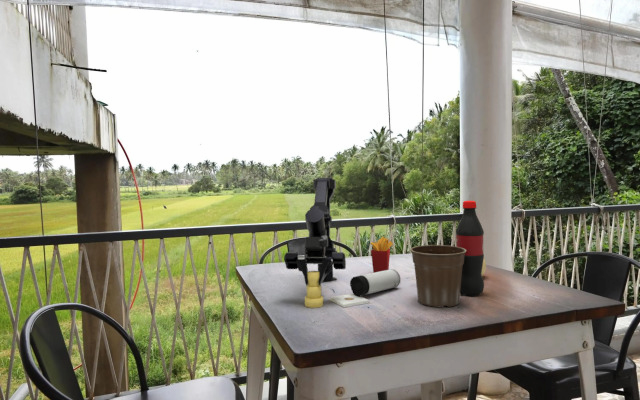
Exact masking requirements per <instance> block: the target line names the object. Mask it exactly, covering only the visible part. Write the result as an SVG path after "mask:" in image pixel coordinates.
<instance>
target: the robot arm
mask: <svg viewBox="0 0 640 400" xmlns="http://www.w3.org/2000/svg"><path fill="white" fill-rule="evenodd" d="M312 185H313V186H312V187H313V188H312V189H313V190H315V194H314V195H315V196H314V201H313V205H312V206H311V207H310V208H309V209H308V210H307V211H306V212H305V214H304V215H305V217H304V220H305V224H306V228H307V230H308V236H305V238H304V239H305V241H304V250H305V251H304V253H305V255H302V254H300V255H299V254H298V252H295V251H293V252H289V251H287V252H286V253H284V256H283V260H284V264H285V267H286V269H287V270H298V272H301V273H302V275H303V277H304V278H303V279H304V284H305V285H308V276H307V272H309V269H308V265H311V264H312V265H317V271H319V276H320V277H319V285H321V286H322V283H323V282H331V281H336V280H337V278H336V277H335V276H334V269H335V270H346V265H347V262H346V261H347V260H346V254H345V253H344V252H341V251H339V252H338V250H337V249H336V247H335V243H334V242H333V240H332V239H331V223H332V221H333V217H332V216H331V201H332V198H333V197H334V196H335V190H337V181H336V179H333V177H317V178H315V179H312Z"/></svg>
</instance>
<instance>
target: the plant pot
mask: <svg viewBox="0 0 640 400" xmlns="http://www.w3.org/2000/svg"><path fill="white" fill-rule="evenodd" d="M410 253H411V257H412V263H413V264H414V272H415V273H414V274H415V281H416V292H417V301H418V302H419V303H420V304H422V305H424V306H427V307H432V308H434V307H435V308H443V307H445V306H446V307H448V308H450V307H451V308H452V307H456V306H457V305H458V304H460V302H461V301H460V300H461V298H460V297H461V293H460V288H461V276H462V265H463V264H464V255H465V253H466V249H464V248H461V247H456V245H447V244H445V245H444V244H443V245H441V244H428V245H427V244H425V245H415V246H414V247H411V248H410Z"/></svg>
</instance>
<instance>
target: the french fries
mask: <svg viewBox="0 0 640 400" xmlns="http://www.w3.org/2000/svg"><path fill="white" fill-rule="evenodd" d="M370 245H372V246H371V247H372V249H371V251H370V254H371V263H372V270H373V272H372V273H375V272H380V271H385V270H390V258H391V255H390V254H391V247H392V246H393V245H394V243H393V242H392V241H391V240H389V238H387V237H384V236H381V238H379V239H378V240H377V241H374V242H372V241H371V242H370Z"/></svg>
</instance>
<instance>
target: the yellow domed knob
mask: <svg viewBox="0 0 640 400" xmlns="http://www.w3.org/2000/svg"><path fill="white" fill-rule="evenodd" d="M307 276H308V284H307V285H306V284H305V285H306V288H305V289H306V290H305V291H306V295H305V296H304V307H306V308H309V309H317V308H322V307H323V306H324V296H323V295H322V284H321V285H319V277H320V276H319V271H318V270H308V272H307Z"/></svg>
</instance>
